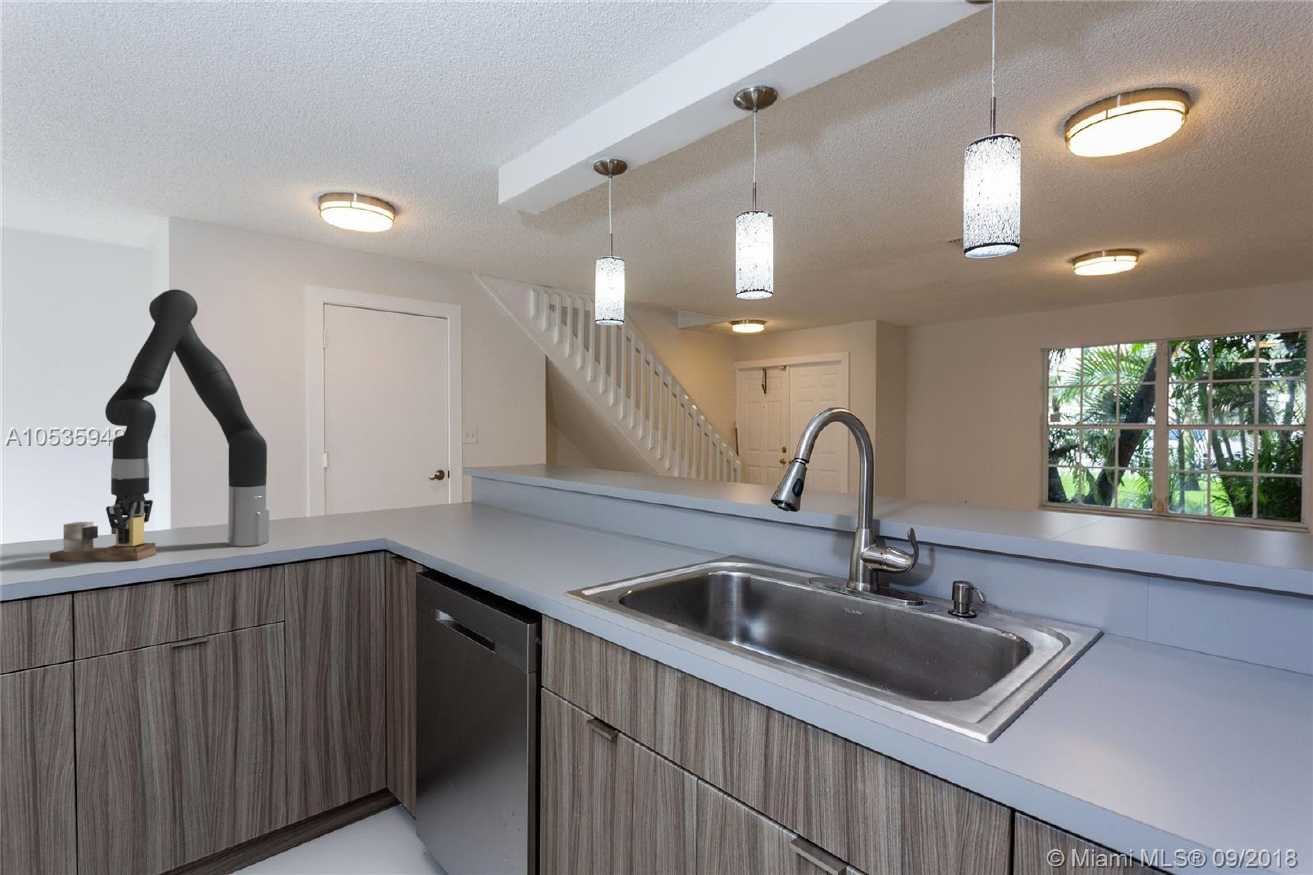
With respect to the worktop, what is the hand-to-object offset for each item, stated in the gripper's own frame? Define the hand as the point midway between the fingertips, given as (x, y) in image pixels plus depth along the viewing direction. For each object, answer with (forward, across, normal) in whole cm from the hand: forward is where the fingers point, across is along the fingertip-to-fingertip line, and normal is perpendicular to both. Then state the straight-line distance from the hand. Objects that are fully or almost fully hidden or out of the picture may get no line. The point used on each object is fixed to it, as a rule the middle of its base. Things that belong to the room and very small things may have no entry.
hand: (130, 541), depth 160 cm
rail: (+4, 0, -6) cm, 7 cm away
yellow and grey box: (+1, 0, 0) cm, 1 cm away
